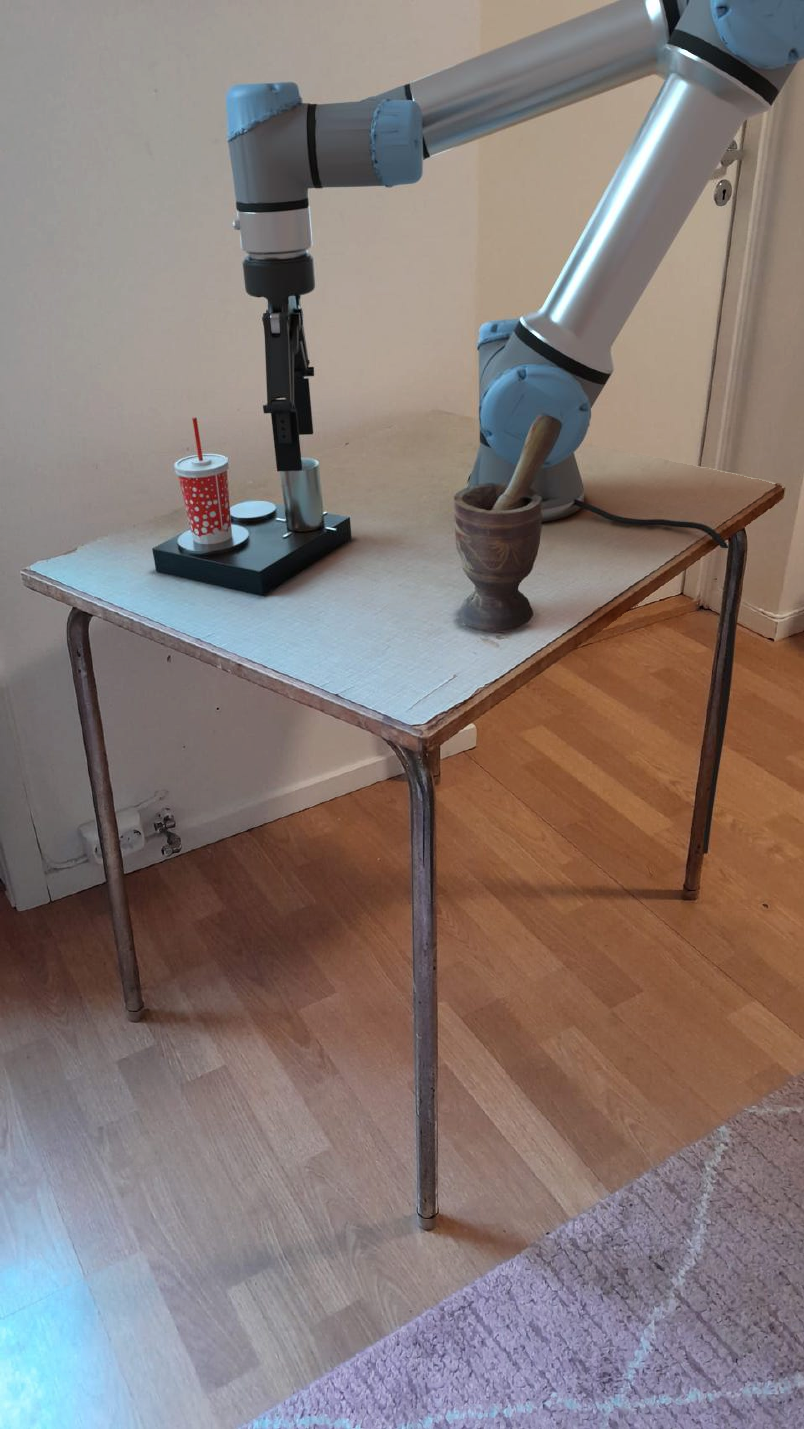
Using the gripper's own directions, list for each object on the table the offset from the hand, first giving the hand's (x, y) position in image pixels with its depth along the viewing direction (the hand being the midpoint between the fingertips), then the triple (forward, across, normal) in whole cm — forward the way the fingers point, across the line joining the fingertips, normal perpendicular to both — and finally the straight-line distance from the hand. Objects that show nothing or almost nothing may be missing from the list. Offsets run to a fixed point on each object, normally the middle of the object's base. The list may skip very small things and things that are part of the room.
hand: (296, 451), depth 121 cm
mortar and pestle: (+12, +20, +23) cm, 33 cm away
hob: (+12, +2, -6) cm, 14 cm away
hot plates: (+9, +1, -8) cm, 12 cm away
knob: (+9, 0, 0) cm, 9 cm away
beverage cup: (+9, +4, -10) cm, 14 cm away
